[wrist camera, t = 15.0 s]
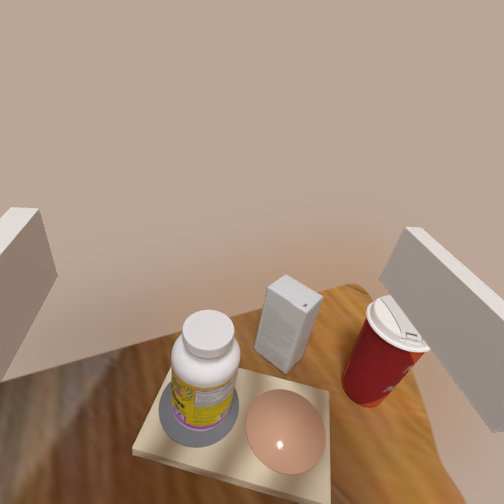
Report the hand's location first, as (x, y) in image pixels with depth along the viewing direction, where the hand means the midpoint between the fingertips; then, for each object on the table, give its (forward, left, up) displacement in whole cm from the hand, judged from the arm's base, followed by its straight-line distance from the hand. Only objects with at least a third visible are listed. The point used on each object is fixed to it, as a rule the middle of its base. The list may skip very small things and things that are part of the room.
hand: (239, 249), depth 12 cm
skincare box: (+5, +20, -30) cm, 37 cm away
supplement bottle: (-3, +9, -28) cm, 30 cm away
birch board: (+2, +9, -30) cm, 31 cm away
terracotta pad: (+7, +9, -28) cm, 31 cm away
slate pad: (-3, +9, -28) cm, 30 cm away
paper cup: (+17, +18, -30) cm, 39 cm away
